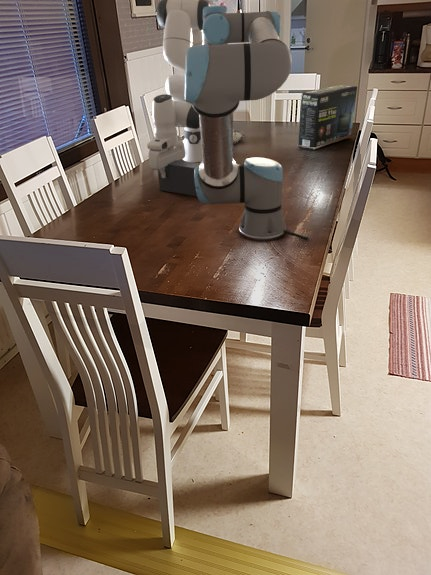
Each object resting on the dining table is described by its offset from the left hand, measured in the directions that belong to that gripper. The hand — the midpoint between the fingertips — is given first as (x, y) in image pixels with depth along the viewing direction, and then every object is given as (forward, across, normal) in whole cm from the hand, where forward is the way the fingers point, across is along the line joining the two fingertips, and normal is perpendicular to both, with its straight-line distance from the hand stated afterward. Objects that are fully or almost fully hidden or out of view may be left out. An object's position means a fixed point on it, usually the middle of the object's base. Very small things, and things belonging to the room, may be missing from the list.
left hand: (169, 174), depth 186 cm
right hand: (-21, +9, +29) cm, 37 cm away
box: (+6, 0, +7) cm, 9 cm away
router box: (+6, -96, +34) cm, 102 cm away
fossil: (+7, -80, -17) cm, 82 cm away
